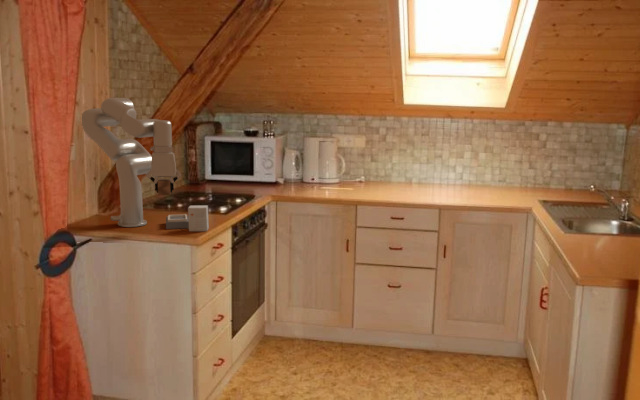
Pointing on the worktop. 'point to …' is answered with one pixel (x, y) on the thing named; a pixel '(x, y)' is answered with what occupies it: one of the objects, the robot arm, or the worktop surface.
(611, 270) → the worktop surface
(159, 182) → the walnut brick
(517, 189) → the worktop surface
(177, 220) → the grey open tray
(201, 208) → the small box
